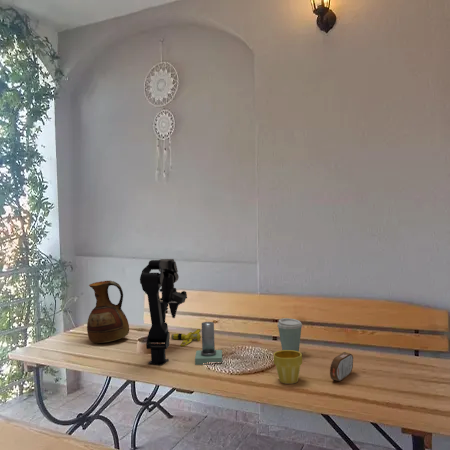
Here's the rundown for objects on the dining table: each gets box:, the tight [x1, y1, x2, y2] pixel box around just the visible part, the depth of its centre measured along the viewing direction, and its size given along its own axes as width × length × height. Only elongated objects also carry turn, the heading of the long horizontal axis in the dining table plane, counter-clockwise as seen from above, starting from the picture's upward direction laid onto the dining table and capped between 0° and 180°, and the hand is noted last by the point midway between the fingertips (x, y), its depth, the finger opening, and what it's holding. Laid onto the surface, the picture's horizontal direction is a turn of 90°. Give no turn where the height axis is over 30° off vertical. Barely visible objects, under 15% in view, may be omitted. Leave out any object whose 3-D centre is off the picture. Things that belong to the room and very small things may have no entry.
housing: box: [201, 321, 216, 356], centre depth 186 cm, size 6×6×13 cm
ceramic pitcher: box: [86, 280, 130, 344], centre depth 220 cm, size 20×20×30 cm
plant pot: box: [272, 349, 303, 385], centre depth 161 cm, size 10×10×10 cm
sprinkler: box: [170, 328, 202, 347], centre depth 217 cm, size 19×4×15 cm
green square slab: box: [194, 349, 223, 366], centre depth 186 cm, size 11×11×2 cm
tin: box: [329, 351, 354, 382], centre depth 162 cm, size 15×3×8 cm, turn 141°
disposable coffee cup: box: [277, 317, 303, 352], centre depth 190 cm, size 11×11×15 cm
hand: (168, 320), depth 203 cm, fingers open, 9 cm apart
